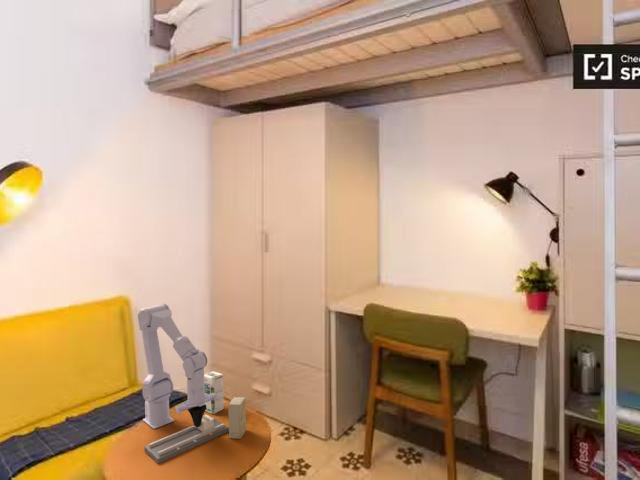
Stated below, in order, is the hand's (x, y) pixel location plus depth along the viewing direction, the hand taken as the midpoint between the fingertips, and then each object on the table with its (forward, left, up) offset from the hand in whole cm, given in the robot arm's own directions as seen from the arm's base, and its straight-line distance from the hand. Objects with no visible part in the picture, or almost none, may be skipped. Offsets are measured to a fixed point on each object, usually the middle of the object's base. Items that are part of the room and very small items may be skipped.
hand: (197, 425), depth 144 cm
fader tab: (0, +3, -2) cm, 4 cm away
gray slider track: (0, -3, -4) cm, 5 cm away
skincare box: (+9, +11, -4) cm, 14 cm away
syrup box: (-13, +15, -4) cm, 20 cm away
